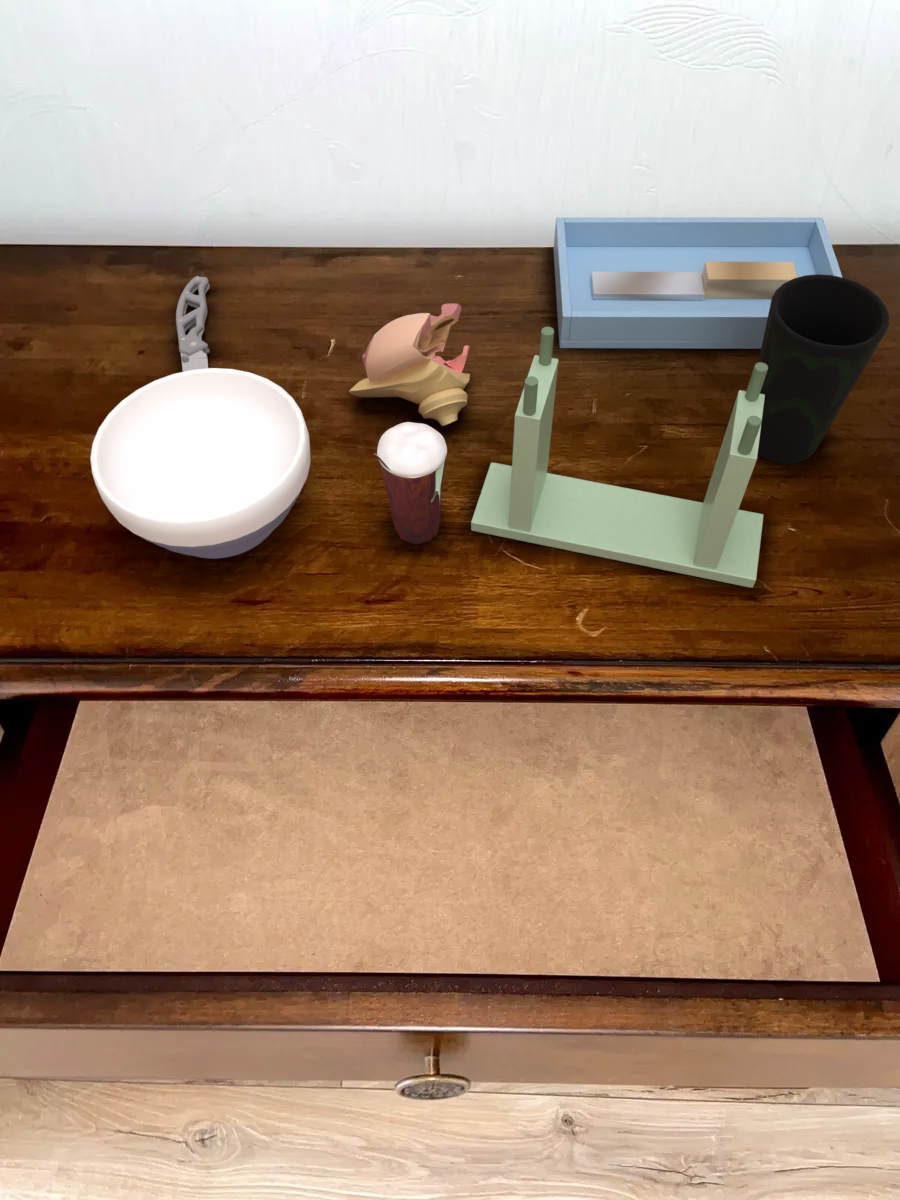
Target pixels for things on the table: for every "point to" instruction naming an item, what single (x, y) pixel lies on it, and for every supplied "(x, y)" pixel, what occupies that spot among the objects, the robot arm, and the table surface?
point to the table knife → (696, 282)
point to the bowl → (203, 461)
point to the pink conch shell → (417, 365)
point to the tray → (675, 251)
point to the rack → (626, 495)
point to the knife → (193, 325)
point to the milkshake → (413, 478)
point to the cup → (814, 359)
